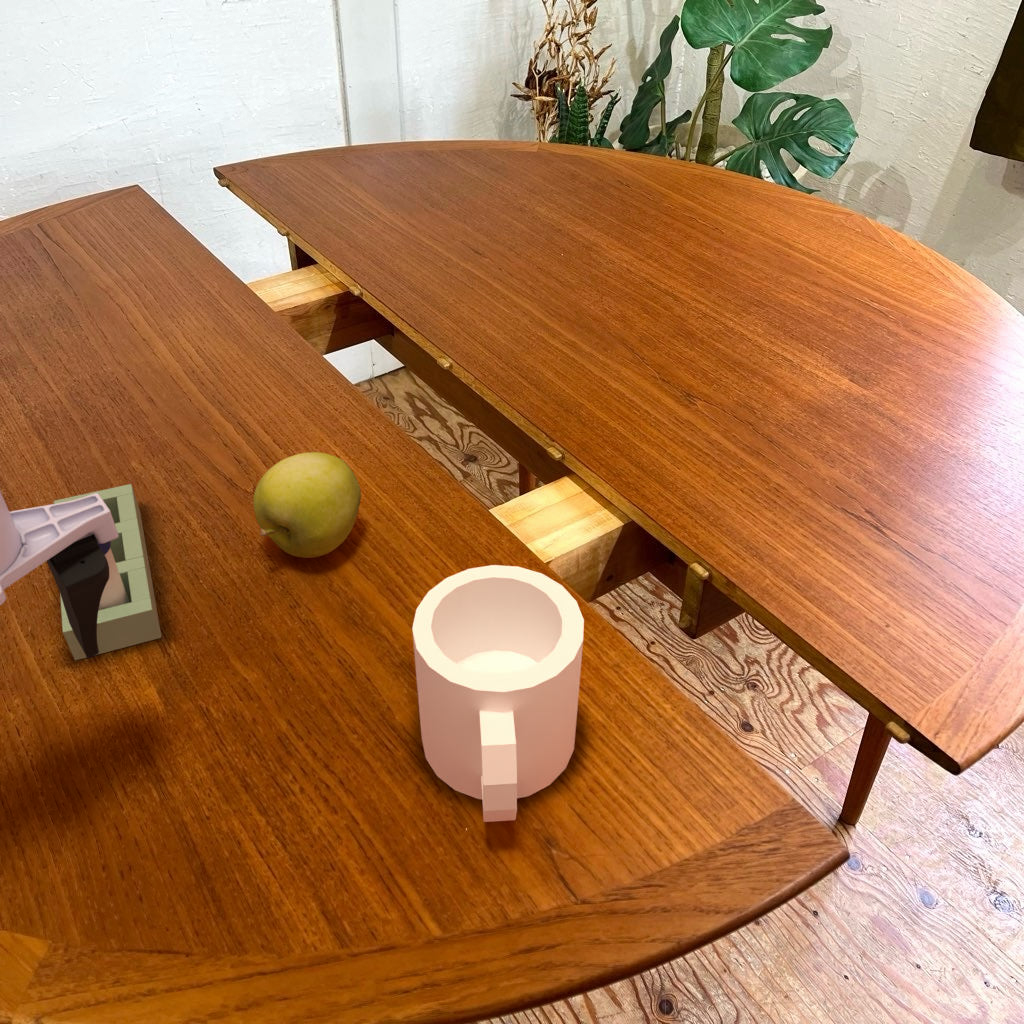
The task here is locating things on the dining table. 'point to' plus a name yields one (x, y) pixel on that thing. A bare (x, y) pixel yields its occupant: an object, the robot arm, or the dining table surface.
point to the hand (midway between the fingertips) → (19, 676)
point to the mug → (498, 682)
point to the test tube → (112, 582)
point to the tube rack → (133, 565)
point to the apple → (307, 503)
